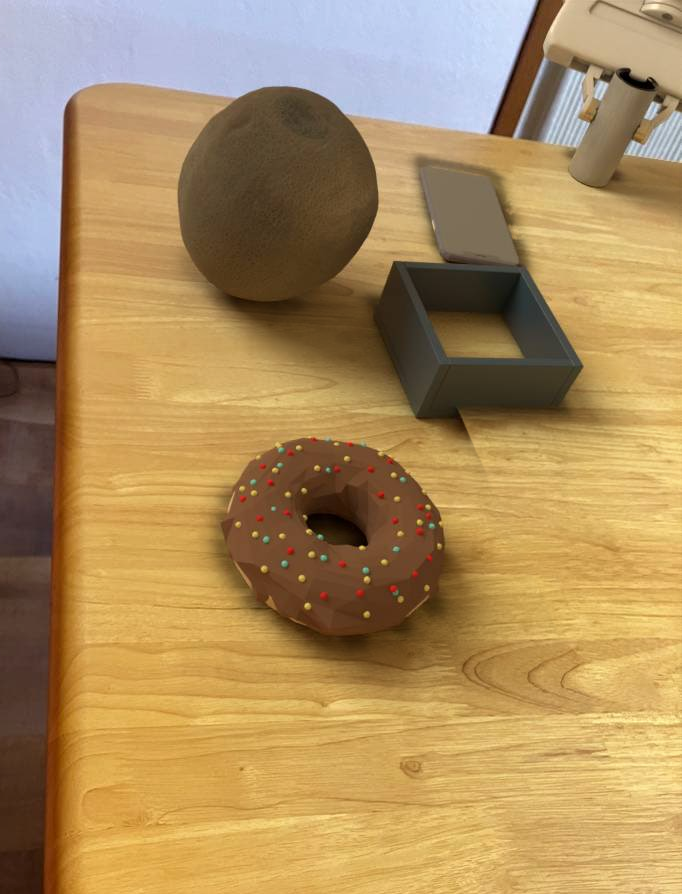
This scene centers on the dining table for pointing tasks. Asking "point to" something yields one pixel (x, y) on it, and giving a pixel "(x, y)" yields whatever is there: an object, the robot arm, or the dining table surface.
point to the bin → (462, 378)
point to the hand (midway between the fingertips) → (612, 129)
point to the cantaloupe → (276, 194)
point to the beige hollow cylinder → (612, 128)
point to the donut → (334, 566)
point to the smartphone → (467, 218)
